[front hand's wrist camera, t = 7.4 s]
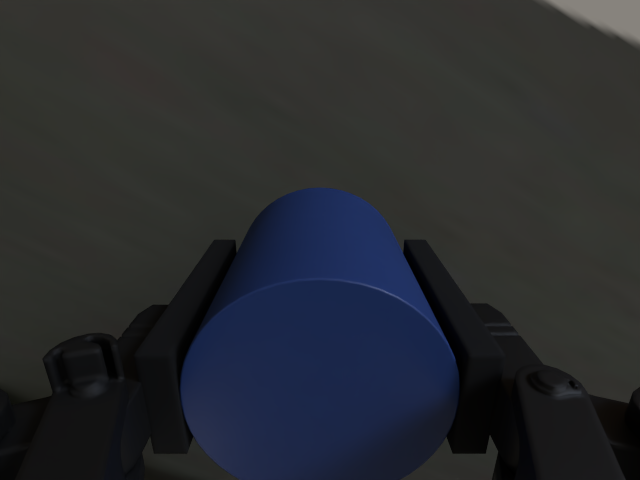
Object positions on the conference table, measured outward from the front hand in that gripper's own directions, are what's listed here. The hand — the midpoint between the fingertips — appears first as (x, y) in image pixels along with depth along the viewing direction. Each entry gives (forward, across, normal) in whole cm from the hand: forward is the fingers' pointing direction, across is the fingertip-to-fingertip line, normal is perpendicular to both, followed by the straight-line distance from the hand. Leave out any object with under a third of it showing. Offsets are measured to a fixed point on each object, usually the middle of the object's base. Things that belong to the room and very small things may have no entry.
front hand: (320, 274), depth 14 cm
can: (+1, 0, 0) cm, 1 cm away
